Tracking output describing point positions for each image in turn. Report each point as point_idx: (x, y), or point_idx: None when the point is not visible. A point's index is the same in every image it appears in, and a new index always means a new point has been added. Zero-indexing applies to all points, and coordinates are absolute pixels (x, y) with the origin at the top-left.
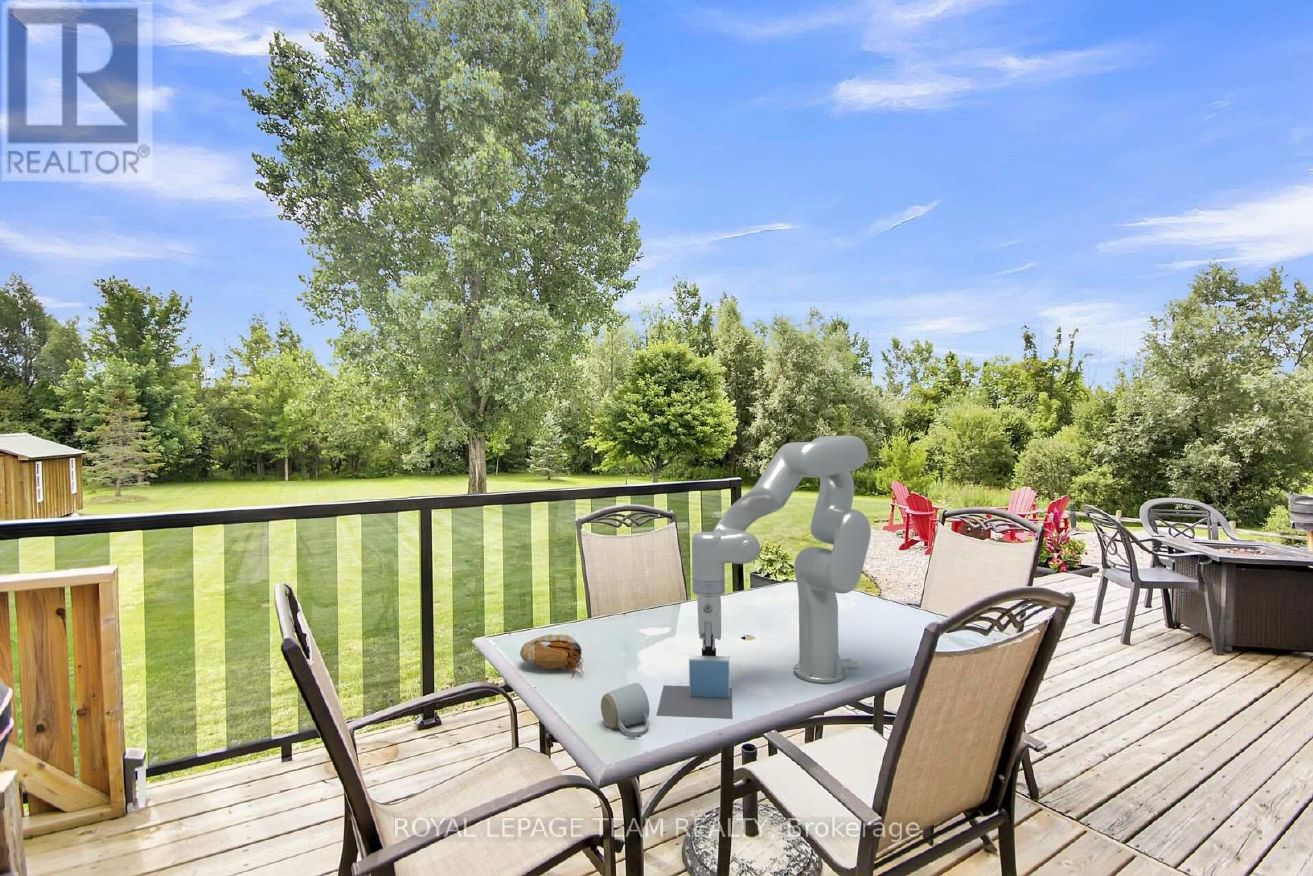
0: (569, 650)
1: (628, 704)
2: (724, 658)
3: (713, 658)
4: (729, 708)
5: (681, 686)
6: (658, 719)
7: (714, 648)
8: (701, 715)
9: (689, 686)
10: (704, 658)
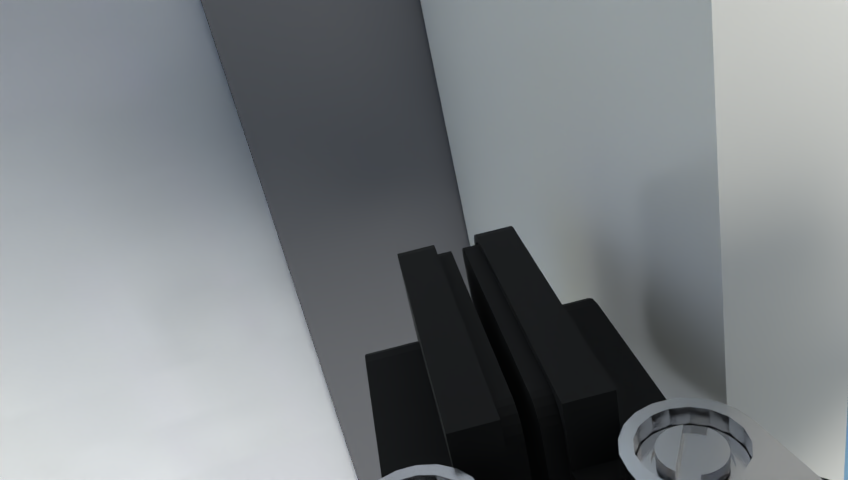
0: None
1: None
2: (808, 85)
3: (808, 307)
4: None
5: (362, 448)
6: None
7: (763, 435)
8: None
9: (335, 391)
10: (814, 448)
